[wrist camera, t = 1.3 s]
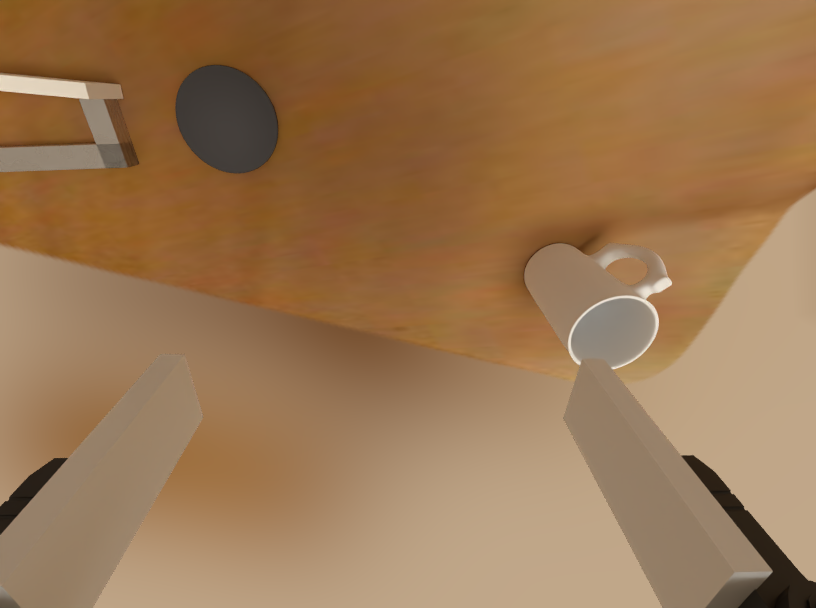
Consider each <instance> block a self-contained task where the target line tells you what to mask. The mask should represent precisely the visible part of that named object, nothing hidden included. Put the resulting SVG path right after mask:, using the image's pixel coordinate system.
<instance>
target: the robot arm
mask: <svg viewBox="0 0 816 608" xmlns="http://www.w3.org/2000/svg"><path fill="white" fill-rule="evenodd" d="M202 419H203V415H202V412H201V408H200V405H199V401H198V398H197V394H196V391H195V387H194V384H193V381H192V377H191V374H190V370H189V367H188V364H187V360H186V357H185V355H184V354H160V355H159V356H158V357H157V358H156V360H155V361H154V362H153V363H152V364H151V365H150V366H149V368H148V369H147V370H146V371H145V372H144V373H143V374H142V375H141V377H140V378H139V379H138V380H137V381H136V382H135V383H134V384H133V386H132V387H131V388H130V389H129V390H128V391H127V392H126V394H125V395H124V396H123V397H122V398H121V399H120V400H119V402H118V403H117V404H116V405H115V406H114V407H113V408H112V409H111V410H110V412H109V413H108V414H107V415H106V416H105V418H103V420H102V421H101V422H100V423H99V424H98V425H97V426H96V427H95V429H94V430H93V431H92V432H91V433H90V434H89V435H88V436H87V438H86V439H85V440H84V441H83V442H82V443H81V444H80V446H79V447H78V448H77V449H76V450H75V451H74V452H73V453H72V455H71V456H70V457H69V458H54V459H53V460H51V461H50V462H48V463H47V464H46V465H44V466H43V467H42V468H40V469H39V470H37V471H36V472H34V473H33V474H31V475H30V476H29V477H28V478H27V479H26V480H25V481H24V482H23V483H22V484H21V485H20V486H19V487H18V488H17V490H16V491H15V492H14V493H13V494H12V495H11V496H10V497H9V500H8V501H5V502H4V503H3V504H2V505H1V506H0V608H93V606H94V605H95V603H96V601H97V600H98V598H99V596H100V594H101V593H102V591H103V589H104V587H105V585H106V584H107V582H108V580H109V579H110V577H111V575H112V574H113V572H114V570H115V569H116V567H117V565H118V563H119V562H120V560H121V558H122V556H123V555H124V553H125V551H126V549H127V548H128V546H129V544H130V543H131V541H132V539H133V537H134V536H135V534H136V532H137V531H138V529H139V527H140V525H141V524H142V522H143V520H144V519H145V517H146V515H147V513H148V512H149V510H150V508H151V506H152V505H153V503H154V501H155V499H156V498H157V496H158V494H159V492H160V491H161V489H162V487H163V486H164V484H165V482H166V481H167V479H168V477H169V475H170V474H171V472H172V470H173V468H174V467H175V465H176V463H177V462H178V460H179V458H180V456H181V455H182V453H183V451H184V450H185V448H186V446H187V444H188V443H189V441H190V439H191V437H192V435H193V434H194V432H195V431H196V429H197V427H198V425H199V424H200V422H201V420H202ZM563 419H564V421H565V423H566V425H567V426H568V429H569V430H570V432H571V434H572V436H573V438H574V440H575V442H576V444H577V445H578V447H579V449H580V451H581V453H582V455H583V457H584V459H585V461H586V463H587V465H588V467H589V468H590V470H591V472H592V474H593V476H594V478H595V480H596V482H597V484H598V486H599V487H600V489H601V491H602V493H603V495H604V497H605V499H606V501H607V503H608V505H609V507H610V508H611V510H612V512H613V514H614V516H615V518H616V520H617V522H618V524H619V526H620V527H621V529H622V531H623V533H624V535H625V537H626V539H627V541H628V543H629V545H630V547H631V548H632V550H633V552H634V554H635V556H636V558H637V560H638V562H639V564H640V566H641V567H642V569H643V571H644V573H645V575H646V577H647V579H648V580H649V583H650V584H651V586H652V588H653V590H654V592H655V594H656V596H657V598H658V600H659V602H660V604H661V605H662V607H663V608H816V583H815V582H813V581H808V580H807V579H806V578H805V577H804V576H803V575H802V574H801V573H800V572H799V571H798V569H797V568H796V567H795V566H794V565H793V563H792V562H791V561H790V560H789V559H788V558H787V556H786V555H785V554H784V553H783V552H782V550H781V549H780V548H779V547H778V546H777V545H776V544H775V542H774V541H773V540H772V539H771V538H770V536H769V535H768V534H767V533H766V532H765V531H764V529H763V528H762V527H761V526H760V525H759V523H758V522H757V521H756V520H755V519H754V518H753V516H752V515H751V514H750V513H749V512H748V511H746V510H745V509H744V506H743V505H742V504H741V502H740V501H739V500H738V499H737V498H736V496H735V495H734V494H731V492H730V490H729V488H728V487H727V486H726V485H725V483H724V482H723V481H722V480H721V479H720V478H719V476H718V475H717V474H716V473H715V472H714V471H713V470H712V469H710V468H709V467H708V466H706V465H705V464H704V463H703V462H701V461H700V460H699V459H697V458H696V457H695V456H693V455H691V456H681V455H680V454H679V453H678V451H677V450H676V449H675V448H674V446H673V445H672V444H671V443H670V441H669V440H668V439H667V437H666V436H665V435H664V434H663V432H662V431H661V430H660V429H659V427H658V426H657V425H656V424H655V422H654V421H653V420H652V419H651V418H650V416H649V415H648V414H647V412H646V411H645V410H644V409H643V407H642V406H641V405H640V404H639V402H638V401H637V400H636V399H635V397H634V396H633V395H632V394H631V392H630V391H629V390H628V388H627V387H626V386H625V385H624V383H623V382H622V381H621V380H620V378H619V377H618V376H617V375H616V373H615V372H614V371H613V370H612V368H611V367H610V366H609V365H608V363H607V362H606V361H605V360H604V359H582V361H581V364H580V367H579V370H578V373H577V376H576V380H575V383H574V386H573V389H572V392H571V395H570V398H569V401H568V405H567V408H566V411H565V414H564V417H563Z"/></svg>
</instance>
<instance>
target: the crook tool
mask: <svg viewBox="0 0 816 608" xmlns="http://www.w3.org/2000/svg"><path fill="white" fill-rule="evenodd" d="M79 101H80V103H81V106H82V109H83V111H84V114H85V116H86V119H87V121H88V124H89V127H90V129H91V132H92V134H93V137H94V140H95V142H96V143H75V144H47V145H18V146H0V172H12V171H40V170H67V169H95V168H122V167H131V166H134V165H138V164H139V161H138V159H137V156H136V153H135V150H134V147H133V144H132V141H131V138H130V135H129V132H128V130H127V127H126V124H125V121H124V118H123V115H122V112H121V109H120V106H119V103H118V101H117V99H79Z"/></svg>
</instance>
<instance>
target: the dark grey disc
mask: <svg viewBox="0 0 816 608" xmlns="http://www.w3.org/2000/svg"><path fill="white" fill-rule="evenodd" d="M176 118H177V122H178V126H179V129H180V132H181V134H182V136H183V138H184V140H185V141H186V143H187V144H188V146H189V147H190V148H191V150H192V151H193V152H194V153H195V154H196V155H197V156H198V157H199V158H200V159H201V160H203V161H204V162H205V163H207V164H208V165H210V166H212V167H214V168H216V169H218V170H221V171H225V172H229V173H245V172H249V171H252V170H255V169H257V168H258V167H260V166H262V165H263V164H264V163H265V162H266V161H267V160H268V159H269V158H270V156H271V155H272V153H273V151H274V149H275V147H276V143H277V138H278V122H277V117H276V113H275V110H274V107H273V105H272V103H271V101H270V99H269V98H268V96H267V94H266V93H265V92H264V90H263V89H262V88H261V87H260V86H259V85H258V84H257V83H256V82H255V81H254V80H253V79H252V78H250V77H249V76H248V75H246V74H245V73H243V72H241V71H239V70H237V69H234V68H231V67H227V66H221V65H211V66H205V67H202V68H199V69H197V70H195V71H194V72H192V73H191V74H189V76H188V77H187V78H186V79H185V80H184V81H183V83H182V84H181V86H180V88H179V91H178V94H177V98H176Z"/></svg>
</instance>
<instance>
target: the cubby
mask: <svg viewBox="0 0 816 608" xmlns="http://www.w3.org/2000/svg"><path fill="white" fill-rule="evenodd" d="M0 91H7V92H18V93H28V94H39V95H49V96H60V97H70V98H81V99H124V98H123V94H122V90H121V85H120V84H110V83H100V82H90V81H80V80H69V79H59V78H49V77H39V76H29V75H19V74H8V73H0Z"/></svg>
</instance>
